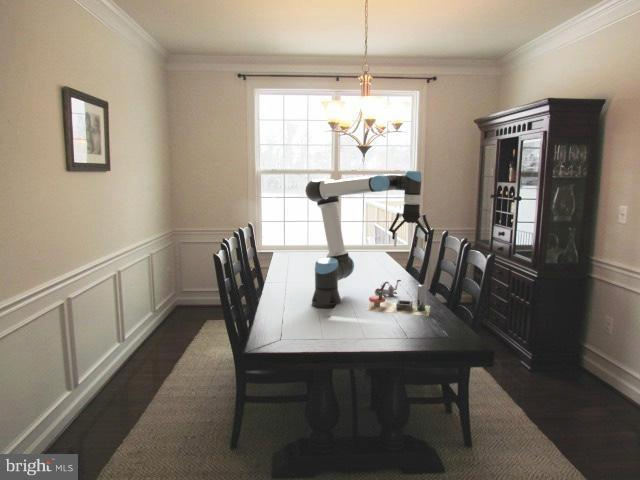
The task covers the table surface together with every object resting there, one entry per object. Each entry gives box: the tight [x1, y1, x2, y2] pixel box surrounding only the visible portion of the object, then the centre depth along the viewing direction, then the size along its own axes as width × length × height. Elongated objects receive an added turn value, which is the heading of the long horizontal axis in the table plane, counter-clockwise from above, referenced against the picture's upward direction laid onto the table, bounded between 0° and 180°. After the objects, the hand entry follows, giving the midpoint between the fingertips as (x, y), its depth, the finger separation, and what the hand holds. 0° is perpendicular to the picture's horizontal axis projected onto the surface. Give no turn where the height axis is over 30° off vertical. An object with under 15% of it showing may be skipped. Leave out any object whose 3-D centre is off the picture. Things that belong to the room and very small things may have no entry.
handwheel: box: [368, 291, 386, 307], centre depth 225 cm, size 8×8×8 cm
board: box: [365, 299, 431, 317], centre depth 223 cm, size 30×16×4 cm, turn 73°
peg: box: [416, 284, 427, 311], centre depth 219 cm, size 4×4×12 cm
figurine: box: [374, 279, 402, 297], centre depth 244 cm, size 12×9×15 cm
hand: (409, 247), depth 220 cm, fingers open, 13 cm apart
